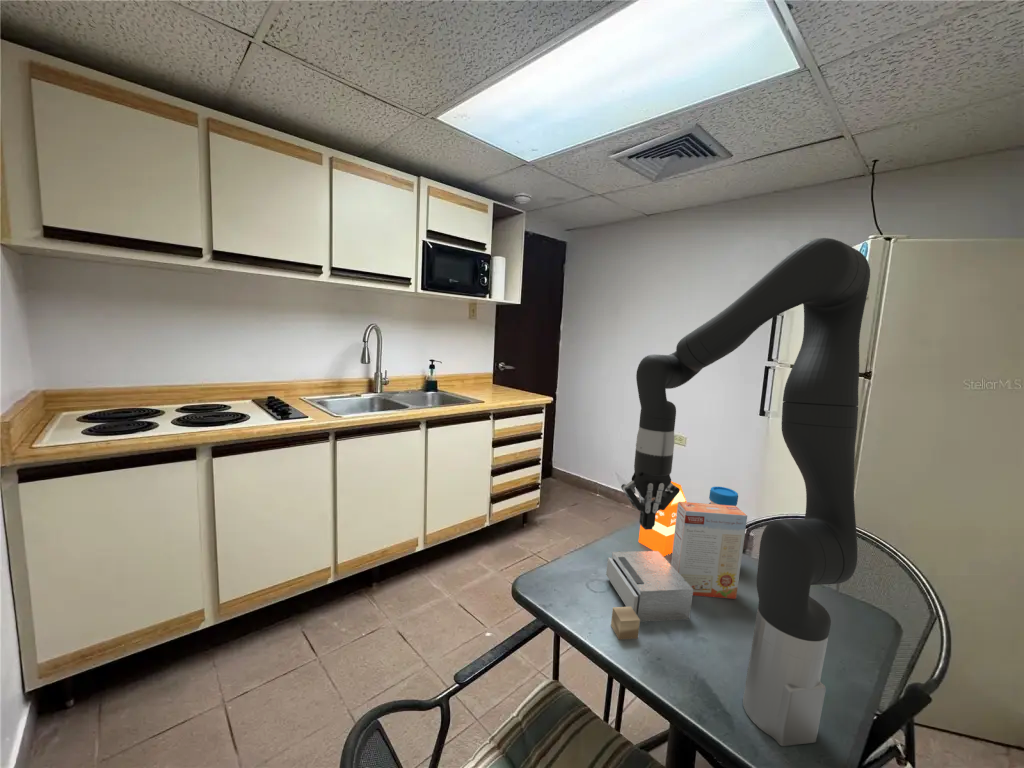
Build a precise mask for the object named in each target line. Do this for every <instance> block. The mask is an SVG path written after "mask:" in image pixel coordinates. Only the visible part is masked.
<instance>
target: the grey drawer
mask: <svg viewBox="0 0 1024 768" xmlns="http://www.w3.org/2000/svg"><path fill="white" fill-rule="evenodd" d="M605 571H606V572H605V573H606V574H605V575H606V577H607V578H608V580H609V581H610V584H611V585H612V586H613V588H614V589H615V592H616V593H617V594H618V595H619V598H620V599H621V600H622V602H623V604H624V605H625V607H632V609H633V610H634V612H635V613H636V612H637V603H638V595H637V594H636V592H635V591H634V590H633V588H632V587H631V585H630V584H629V582H628V581H627V580H626V577H627V576H626V575H625V574H624V572H623V571H622V570H619V568H618V567H617V565H616V564H615V562H614V561H613V560H612V557H608V558H607V563H606V570H605Z"/></svg>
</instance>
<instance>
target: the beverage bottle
mask: <svg viewBox="0 0 1024 768" xmlns="http://www.w3.org/2000/svg"><path fill="white" fill-rule="evenodd" d="M708 500H709V501H710V502H708V504H717V505H730V506H736V507H737V505H738V500H739V493H738V492H737V491H735V489H734V490H733V489H732V488H729V487H724V486H712V487H710V490H709V498H708Z"/></svg>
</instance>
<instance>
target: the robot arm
mask: <svg viewBox="0 0 1024 768" xmlns="http://www.w3.org/2000/svg"><path fill="white" fill-rule="evenodd" d="M870 280H871V267H870V264H869V261H868V259H867V258H866V256H865V255H864V254H863V253H862V252H860V251H859V250H858V249H856V248H854V247H852V246H850V245H848V244H847V243H845V242H843V241H840V240H838V239H834V238H828V237H827V238H826V237H820V238H815V239H812V240H809V241H807V242H804V243H802V244H800V245H799V246H797V247H796V248H794V249H793V250H792V251H790V252H789V253H788V254H787V255H786V256H785V257H784V258H782V259H781V260H780V261H779V262H778V263H777V264H776V265H775V266H773V268H771V269H770V270H769V271H768V272H767V273H766V274H765V275H764V276H763V277H761V279H759V280H758V281H757V282H756V283H755V284H753V285H752V286H751V287H750V288H749V289H748V290H747V291H746V292H744V293H743V294H742V295H741V296H739V297H738V298H737V299H736V300H735V301H734V302H732V303H731V304H730V305H728V306H727V307H726V308H724V309H723V310H722V311H720V312H719V313H718V314H716V315H715V316H714V317H712V318H710V319H709V320H707V321H706V322H705V323H703V324H701V325H699V326H698V327H697V328H695V329H694V330H693V331H691V332H689V333H688V334H686V335H685V336H683V337H682V338H681V339H680V340H679V341H678V342H677V344H676V347H675V351H674V352H672V353H670V354H648V355H646V356H644V357H643V358H642V359H641V360H640V362H639V364H638V367H637V369H636V375H635V377H636V385H637V392H638V394H637V395H638V398H639V399H638V400H639V403H640V404H639V405H640V413H639V424H638V431H637V434H636V442H635V453H634V465H633V467H634V468H633V469H634V473H633V475H632V477H631V480H630V482H628V483H626V484H625V483H622V484H621V487H620V488H621V490H622V491H623V493H624V494H625V496H626V497H627V499H628V500H629V502H630V503H631V504H632V507H634V508H635V509H637V511H639V520H638V521H639V525H641V526H642V527H643V528H644V529H645V530H650V529H652V528H653V527H654V525H655V517H656V513H657V511H659V510H665V509H666V507H667V506H668V505H669V504H670V502H671V501H672V500H673V499H674V498H675V496H676V495H677V494H678V493H679V491H680V489H679V488H678V487H676V486H675V485H673V484H672V483H671V481H672V477H671V473H672V469H673V459H674V450H675V449H674V448H675V429H676V427H675V426H676V419H677V418H676V417H677V408H676V407H677V406H676V404H674V402H672V401H669V400H668V398H667V392H666V391H667V390H669V389H676V388H678V387H681V386H682V385H685V384H686V383H688V382H689V381H690V380H691V379H692V378H694V377H695V376H696V375H697V374H699V373H700V371H702V370H703V369H704V368H706V367H708V366H710V365H712V364H713V363H716V362H717V361H719V360H721V359H722V358H724V357H726V356H728V355H729V354H731V353H732V352H734V351H735V350H736V349H738V348H739V347H740V346H742V344H743V343H745V342H746V340H747V339H748V338H749V337H751V335H753V333H754V332H756V331H757V330H758V329H759V328H760V327H761V326H763V325H764V324H766V322H769V321H770V320H771V319H773V318H775V317H777V316H779V315H780V314H782V313H784V312H786V311H789V310H791V309H794V308H795V307H797V306H800V305H803V335H802V343H801V346H800V348H799V352H798V354H797V356H796V359H795V361H794V363H793V365H792V367H791V370H790V372H789V374H788V377H787V380H786V383H785V385H784V390H783V395H782V407H781V409H782V410H781V434H782V438H783V439H784V443H785V444H786V448H787V449H788V452H789V454H790V455H791V457H792V459H793V460H794V462H795V464H796V466H797V467H798V469H799V471H800V473H801V476H802V478H803V481H804V486H805V492H806V493H805V498H806V500H805V501H806V502H805V503H806V504H805V516H804V518H803V519H799V518H798V519H796V518H795V519H791V518H790V519H777V520H773V521H770V522H769V523H768V524H767V525H766V526H765V527H764V529H763V531H762V534H761V538H760V542H759V549H758V563H757V574H756V591H757V596H758V603H757V604H758V605H757V611H756V618H755V623H754V628H753V635H752V642H751V647H750V653H749V654H750V655H749V659H748V661H749V662H748V667H747V670H746V671H747V673H746V678H745V684H744V692H743V698H742V705H743V708H744V711H745V713H746V715H747V716H748V718H749V719H750V720H751V722H753V723H754V724H755V725H756V726H757V728H759V729H760V730H761V731H763V732H764V733H765V734H767V735H768V736H770V737H772V738H773V739H774V740H775V741H776V742H777V743H778V744H779V746H781V747H785V746H786V747H787V746H796V745H802V744H804V745H805V744H812V743H813V744H814V743H816V742H817V737H818V732H819V728H820V727H819V726H820V722H821V717H822V711H823V708H824V707H823V706H824V700H825V695H826V691H827V688H826V685H825V684H823V683H822V682H821V677H822V672H823V666H824V663H825V662H824V661H825V656H826V653H827V647H828V640H829V635H830V632H831V631H830V630H831V625H832V620H831V616H830V614H829V611H827V610H826V608H825V606H824V605H822V604H821V603H820V602H818V601H817V600H816V599H814V597H813V598H812V597H811V596H810V592H811V586H814V585H815V586H816V585H817V586H819V585H820V586H821V585H823V586H824V585H839V584H842V583H845V582H847V581H849V580H850V579H851V578H852V577H853V576H854V574H855V571H856V569H857V564H858V552H859V551H858V537H857V533H858V532H857V524H856V523H857V521H856V511H855V510H856V509H855V508H856V507H855V461H856V458H855V455H856V440H857V431H858V419H859V418H858V417H859V384H860V383H859V381H860V339H861V337H860V336H861V330H862V329H861V328H862V322H863V319H864V312H865V308H866V302H867V298H868V297H867V296H868V291H869V286H870ZM666 389H667V390H666ZM636 491H637V492H638V497H637V496H636ZM638 498H639V499H638Z"/></svg>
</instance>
